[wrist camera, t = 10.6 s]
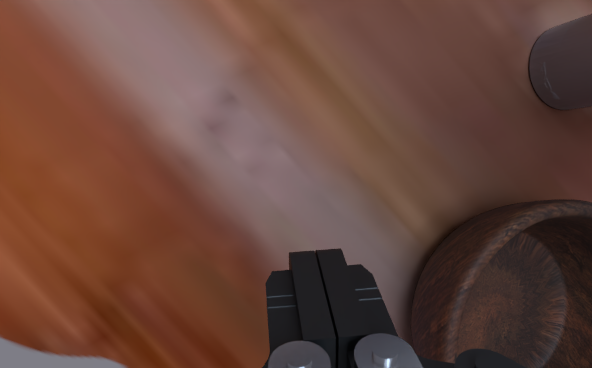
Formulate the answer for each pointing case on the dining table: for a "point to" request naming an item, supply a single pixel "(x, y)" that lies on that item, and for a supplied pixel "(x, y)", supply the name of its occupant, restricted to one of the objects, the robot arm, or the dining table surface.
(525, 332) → the wooden bowl
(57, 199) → the dining table surface
